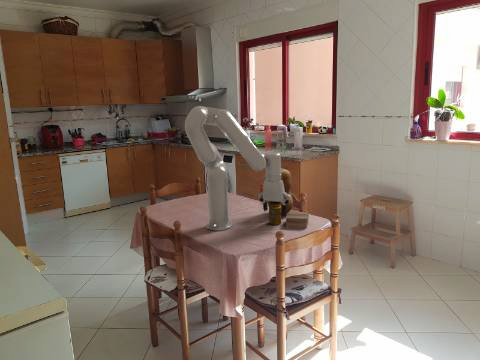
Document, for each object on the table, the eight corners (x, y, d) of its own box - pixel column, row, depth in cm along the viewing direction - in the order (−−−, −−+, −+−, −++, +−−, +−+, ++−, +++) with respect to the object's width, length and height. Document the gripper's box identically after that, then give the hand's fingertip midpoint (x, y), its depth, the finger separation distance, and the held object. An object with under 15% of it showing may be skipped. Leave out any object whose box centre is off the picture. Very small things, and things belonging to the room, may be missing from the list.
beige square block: (306, 228, 183) (306, 218, 182) (285, 227, 185) (285, 217, 184) (308, 222, 192) (308, 212, 191) (288, 221, 195) (288, 211, 194)
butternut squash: (296, 211, 209) (296, 167, 203) (288, 219, 197) (288, 171, 191) (273, 209, 215) (272, 165, 209) (263, 215, 203) (263, 170, 198)
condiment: (284, 223, 190) (284, 200, 188) (273, 228, 184) (273, 204, 182) (273, 220, 195) (273, 198, 193) (262, 224, 190) (262, 201, 187)
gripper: (254, 178, 185) (255, 212, 189) (288, 180, 178) (289, 215, 181) (260, 175, 192) (261, 207, 195) (293, 177, 184) (293, 210, 188)
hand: (274, 211), depth 188 cm, fingers open, 9 cm apart
